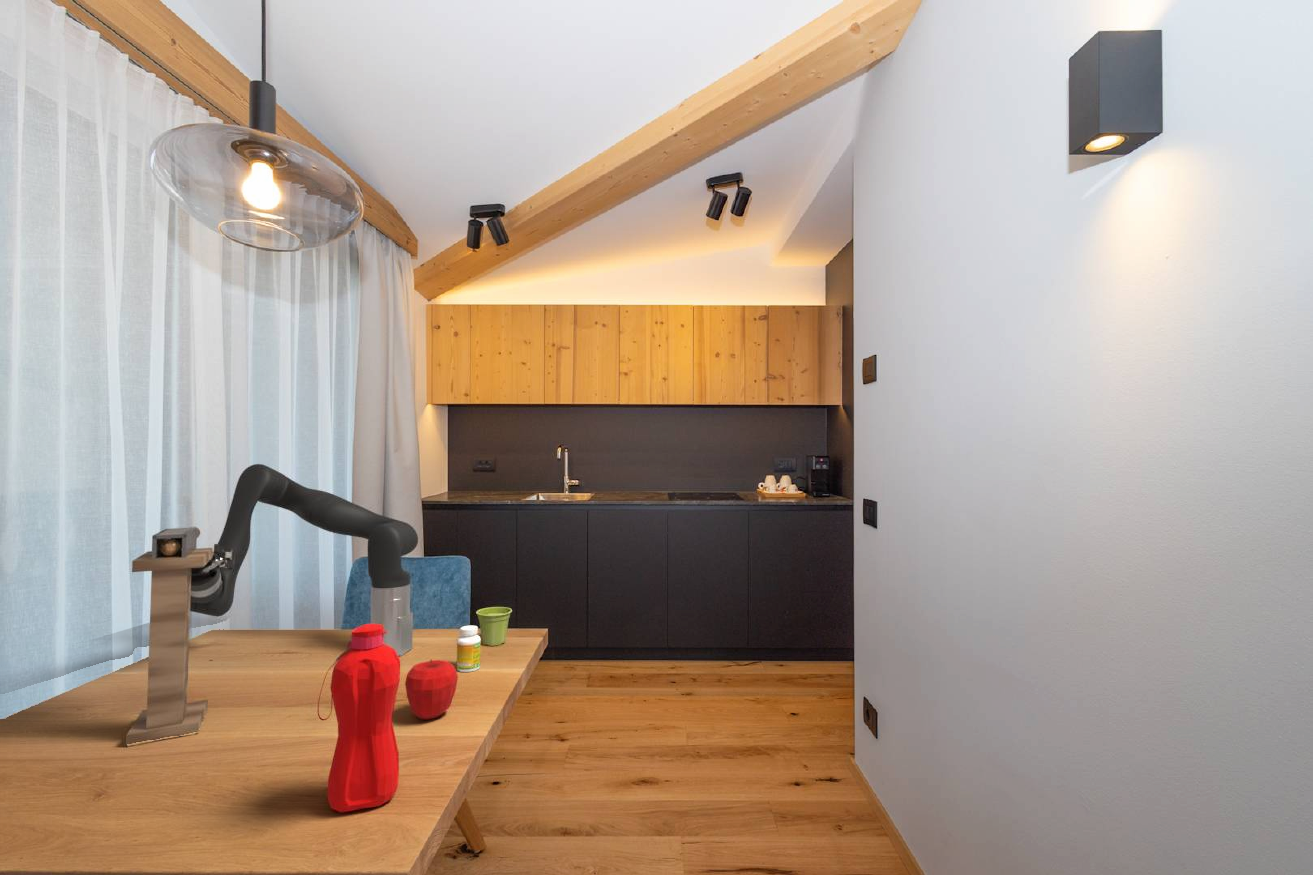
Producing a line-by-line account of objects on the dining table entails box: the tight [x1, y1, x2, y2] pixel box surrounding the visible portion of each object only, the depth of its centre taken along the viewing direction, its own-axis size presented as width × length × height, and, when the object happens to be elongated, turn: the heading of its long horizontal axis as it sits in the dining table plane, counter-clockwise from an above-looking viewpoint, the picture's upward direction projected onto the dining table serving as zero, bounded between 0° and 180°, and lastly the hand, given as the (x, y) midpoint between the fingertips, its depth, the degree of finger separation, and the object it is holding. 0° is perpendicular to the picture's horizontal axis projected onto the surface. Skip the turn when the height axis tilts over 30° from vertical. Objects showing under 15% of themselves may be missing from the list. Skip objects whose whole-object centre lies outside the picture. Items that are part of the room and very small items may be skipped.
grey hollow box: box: [151, 526, 198, 559], centre depth 112 cm, size 12×5×4 cm, turn 30°
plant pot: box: [475, 606, 513, 647], centre depth 162 cm, size 9×9×9 cm
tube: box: [160, 526, 201, 555], centre depth 118 cm, size 24×3×3 cm, turn 31°
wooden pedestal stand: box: [125, 547, 213, 746], centre depth 111 cm, size 12×10×32 cm
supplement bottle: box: [456, 625, 482, 673], centre depth 142 cm, size 5×5×10 cm
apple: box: [404, 659, 459, 720], centre depth 116 cm, size 10×10×11 cm
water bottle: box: [317, 623, 401, 814], centre depth 88 cm, size 9×11×25 cm
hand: (191, 549), depth 128 cm, fingers open, 8 cm apart
